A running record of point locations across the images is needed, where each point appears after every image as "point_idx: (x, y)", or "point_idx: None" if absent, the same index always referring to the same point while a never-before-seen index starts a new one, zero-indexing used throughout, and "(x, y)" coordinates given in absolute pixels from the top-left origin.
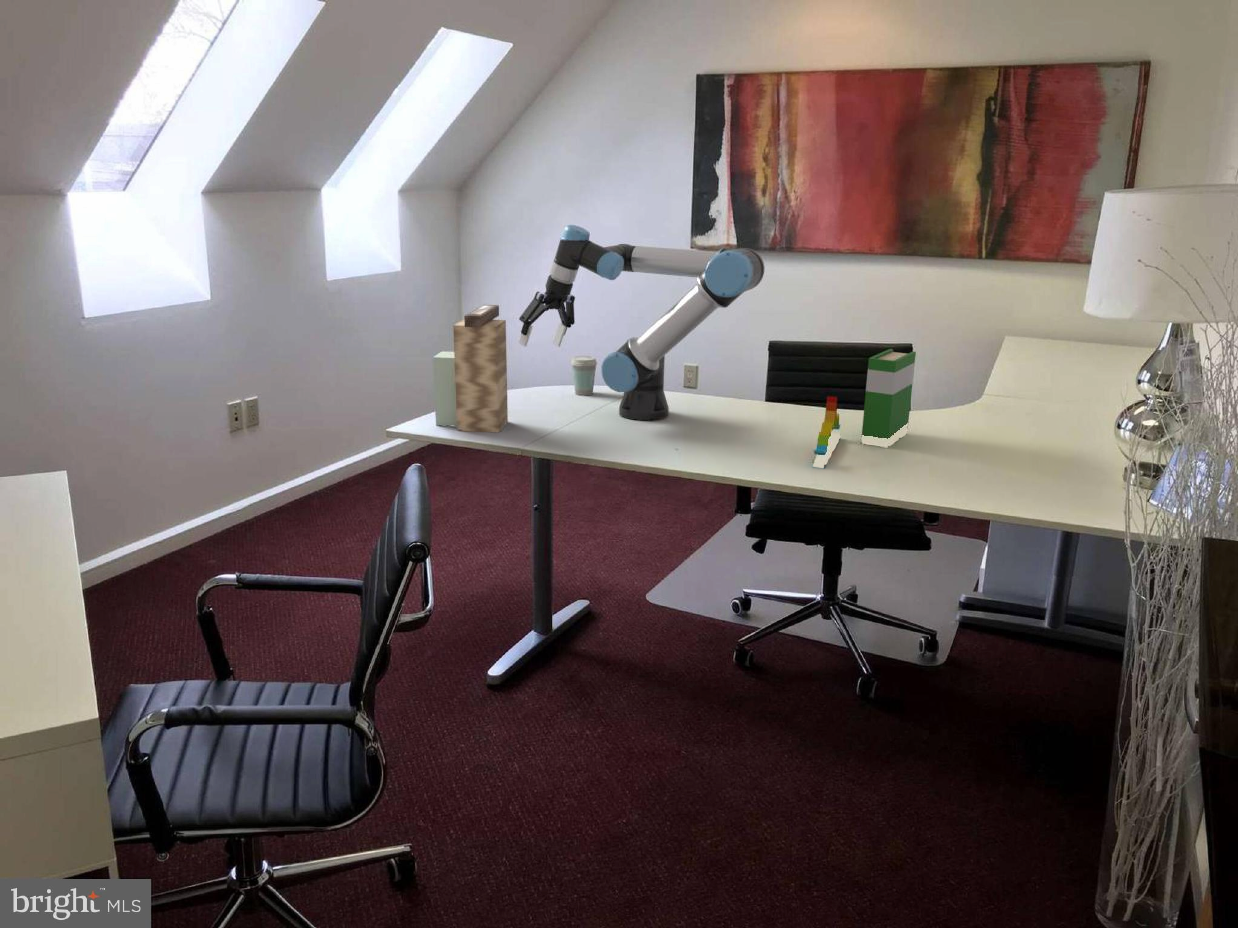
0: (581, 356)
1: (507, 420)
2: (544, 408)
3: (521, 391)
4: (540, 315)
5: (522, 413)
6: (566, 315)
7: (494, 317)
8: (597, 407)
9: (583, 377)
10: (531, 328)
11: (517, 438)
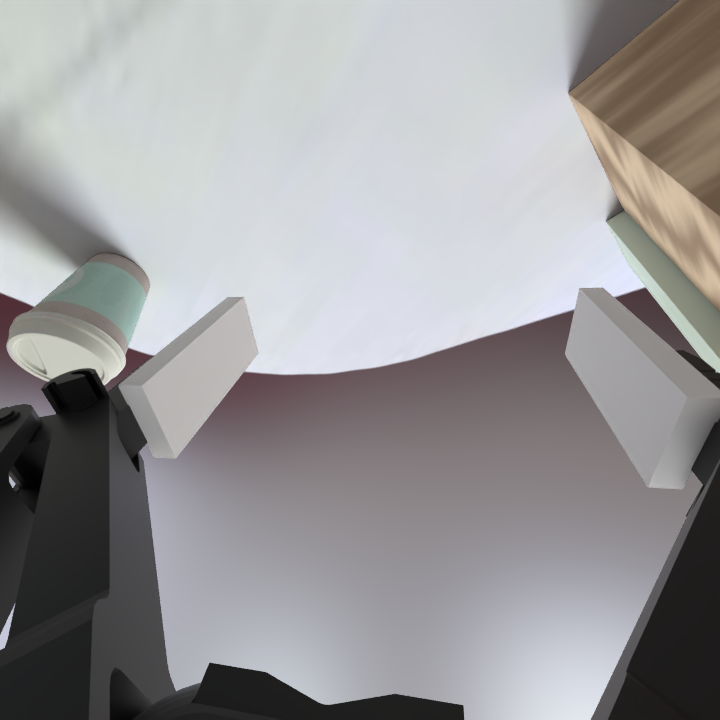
0: None
1: (576, 90)
2: (324, 191)
3: (284, 365)
4: (688, 554)
5: (430, 176)
6: (44, 511)
7: None
8: (110, 67)
9: (101, 294)
10: (682, 381)
11: None
